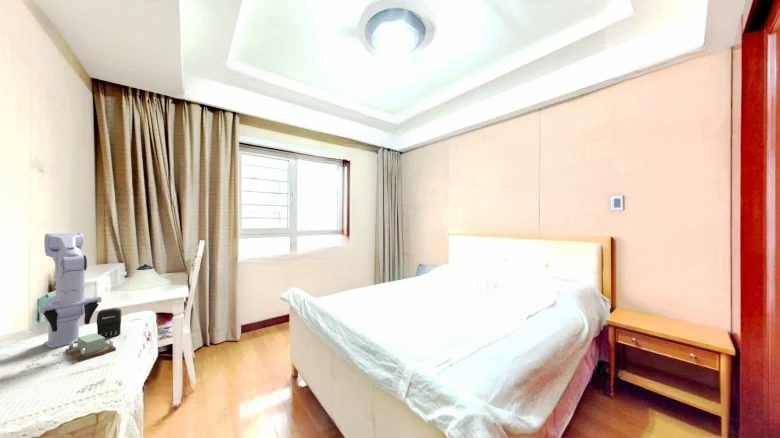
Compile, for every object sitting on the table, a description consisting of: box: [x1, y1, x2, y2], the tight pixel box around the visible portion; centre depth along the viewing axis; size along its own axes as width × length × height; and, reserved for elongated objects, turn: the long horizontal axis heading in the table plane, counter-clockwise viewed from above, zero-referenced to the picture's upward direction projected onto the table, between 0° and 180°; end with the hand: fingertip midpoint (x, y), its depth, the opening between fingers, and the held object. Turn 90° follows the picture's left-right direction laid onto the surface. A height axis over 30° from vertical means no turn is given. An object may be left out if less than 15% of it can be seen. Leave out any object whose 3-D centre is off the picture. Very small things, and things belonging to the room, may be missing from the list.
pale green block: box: [76, 332, 106, 354], centre depth 97 cm, size 9×4×4 cm, turn 63°
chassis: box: [65, 334, 117, 362], centre depth 97 cm, size 14×9×4 cm, turn 64°
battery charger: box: [96, 307, 123, 339], centre depth 109 cm, size 7×4×11 cm, turn 130°
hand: (71, 327), depth 95 cm, fingers open, 7 cm apart
